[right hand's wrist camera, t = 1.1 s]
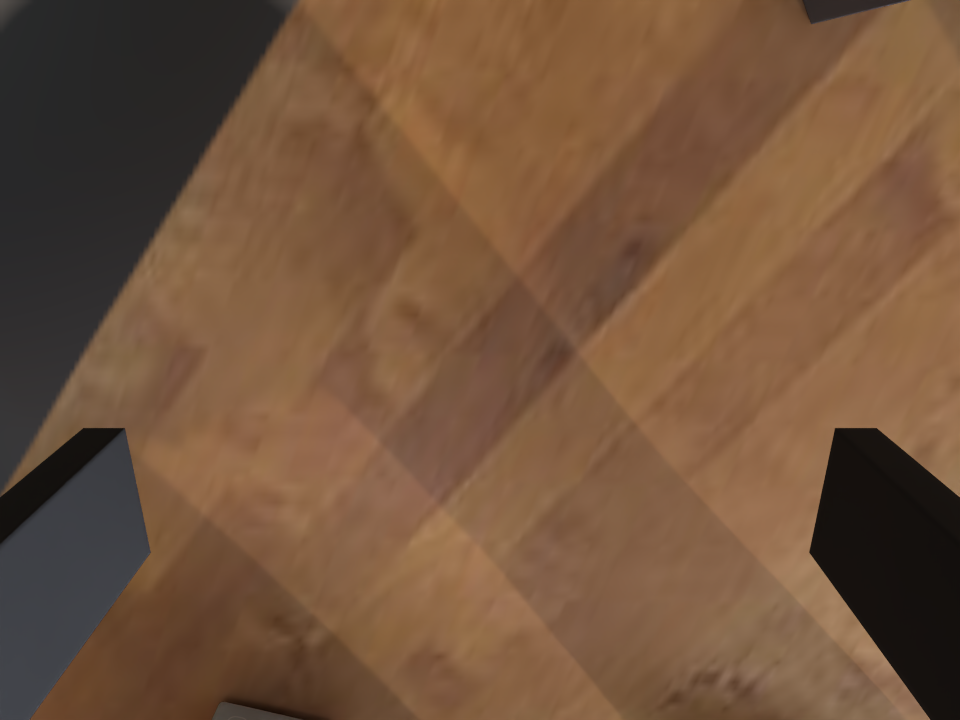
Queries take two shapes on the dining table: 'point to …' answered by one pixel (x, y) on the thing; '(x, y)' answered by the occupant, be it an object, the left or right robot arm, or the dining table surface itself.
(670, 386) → the dining table surface
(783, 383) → the dining table surface
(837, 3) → the board
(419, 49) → the dining table surface
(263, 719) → the hard drive box
